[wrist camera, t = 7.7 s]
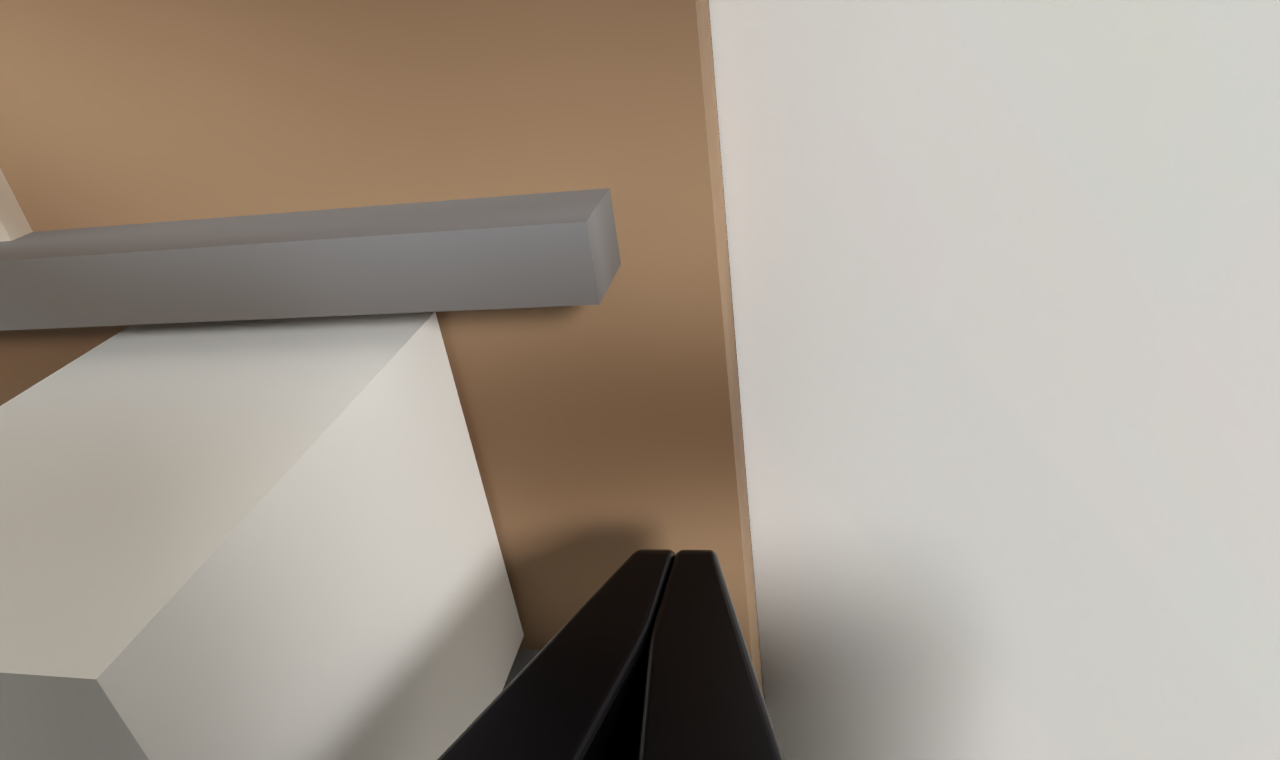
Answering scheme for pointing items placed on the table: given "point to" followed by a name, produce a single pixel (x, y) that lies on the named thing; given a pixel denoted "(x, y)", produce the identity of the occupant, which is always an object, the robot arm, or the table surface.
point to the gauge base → (412, 234)
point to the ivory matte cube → (248, 548)
